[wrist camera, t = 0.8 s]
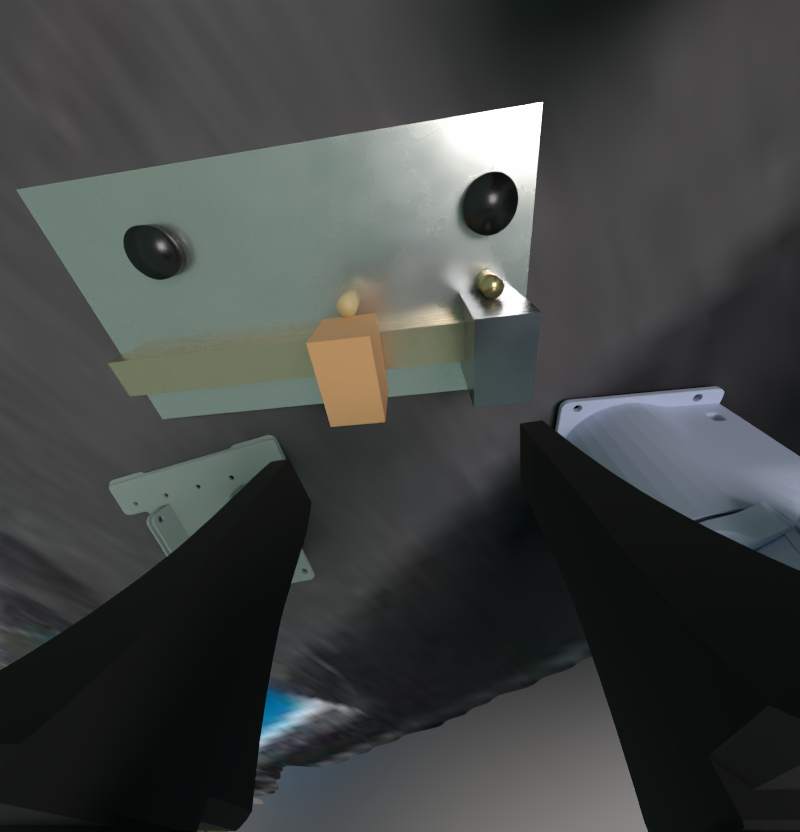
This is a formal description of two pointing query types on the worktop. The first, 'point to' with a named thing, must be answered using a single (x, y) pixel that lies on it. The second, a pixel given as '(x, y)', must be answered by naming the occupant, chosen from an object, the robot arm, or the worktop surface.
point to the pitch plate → (313, 262)
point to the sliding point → (350, 365)
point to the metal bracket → (197, 492)
